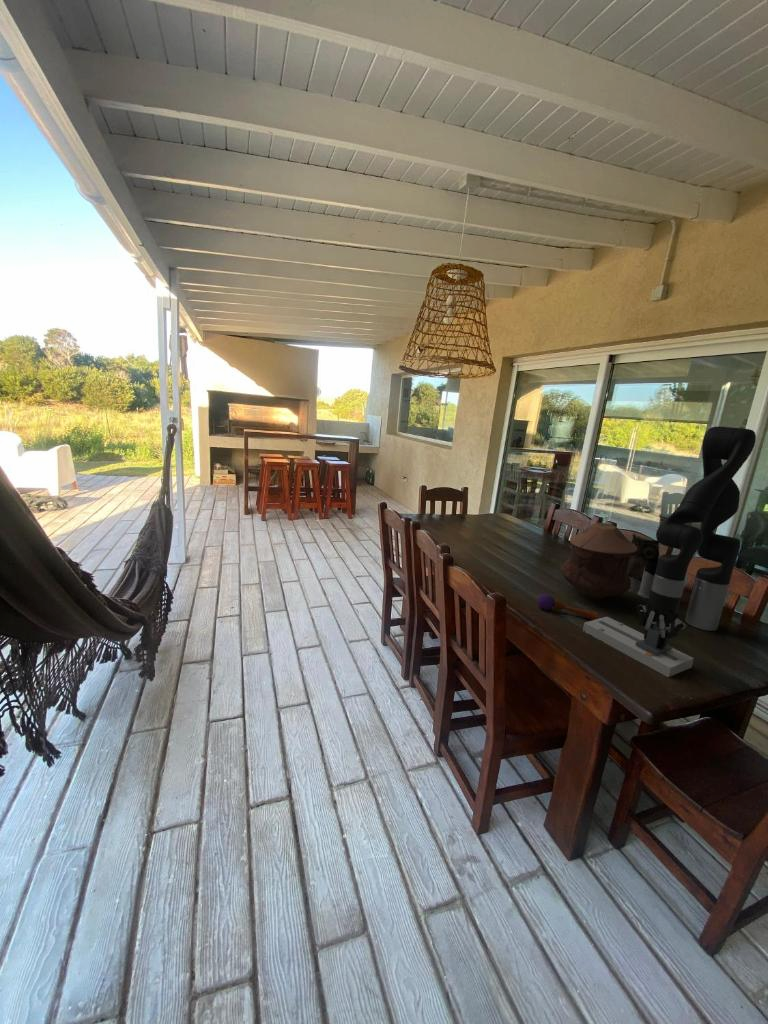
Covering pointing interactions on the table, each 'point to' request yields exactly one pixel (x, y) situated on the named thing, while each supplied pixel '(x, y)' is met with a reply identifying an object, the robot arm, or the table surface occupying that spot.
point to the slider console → (626, 640)
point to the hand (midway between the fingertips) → (653, 644)
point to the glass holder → (648, 577)
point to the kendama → (563, 606)
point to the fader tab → (653, 642)
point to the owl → (642, 555)
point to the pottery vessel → (599, 562)
